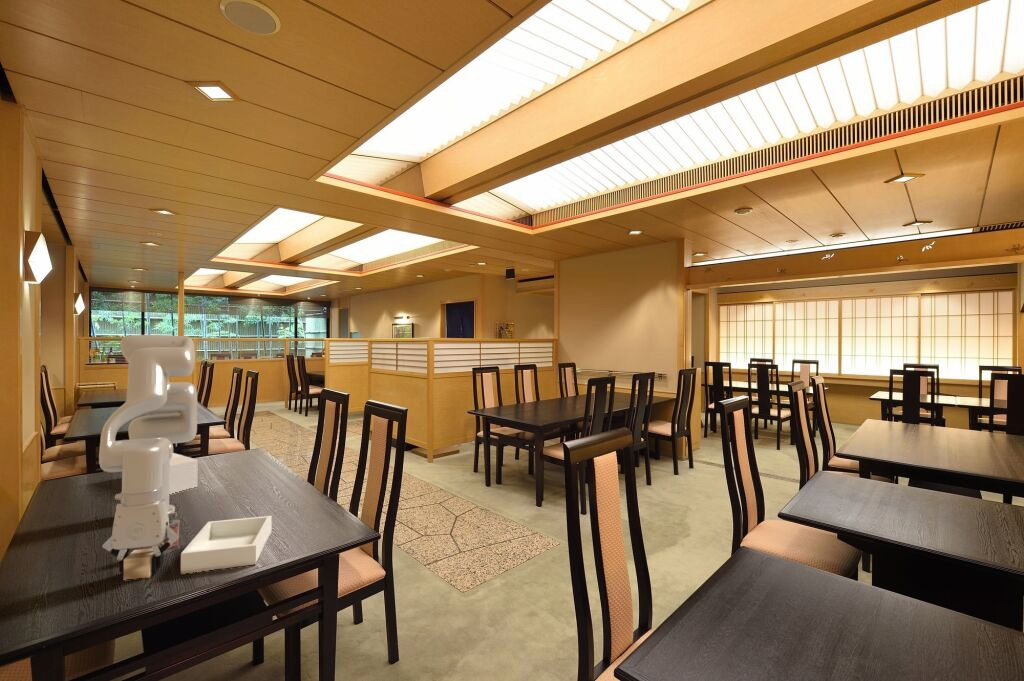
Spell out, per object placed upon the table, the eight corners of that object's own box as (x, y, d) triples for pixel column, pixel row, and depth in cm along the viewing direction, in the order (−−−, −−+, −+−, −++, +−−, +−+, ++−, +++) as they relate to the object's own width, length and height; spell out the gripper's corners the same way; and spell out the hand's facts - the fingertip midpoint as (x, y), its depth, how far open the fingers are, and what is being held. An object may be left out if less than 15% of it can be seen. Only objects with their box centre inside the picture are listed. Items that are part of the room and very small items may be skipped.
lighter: (143, 560, 116) (144, 521, 116) (139, 556, 118) (140, 518, 118) (181, 549, 122) (181, 512, 122) (176, 546, 124) (177, 509, 124)
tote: (180, 574, 110) (180, 553, 110) (208, 539, 129) (208, 521, 129) (255, 565, 114) (255, 545, 114) (271, 532, 133) (271, 515, 133)
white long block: (126, 481, 179) (126, 453, 179) (158, 474, 189) (158, 448, 189) (164, 496, 163) (164, 466, 163) (197, 488, 172) (197, 459, 172)
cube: (123, 581, 107) (123, 559, 106) (134, 570, 111) (134, 550, 111) (149, 577, 108) (149, 556, 108) (158, 567, 113) (158, 547, 113)
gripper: (89, 505, 103) (88, 585, 103) (178, 498, 109) (177, 575, 109) (107, 494, 111) (106, 569, 111) (189, 488, 116) (188, 560, 116)
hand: (141, 571), depth 110 cm, fingers open, 5 cm apart
